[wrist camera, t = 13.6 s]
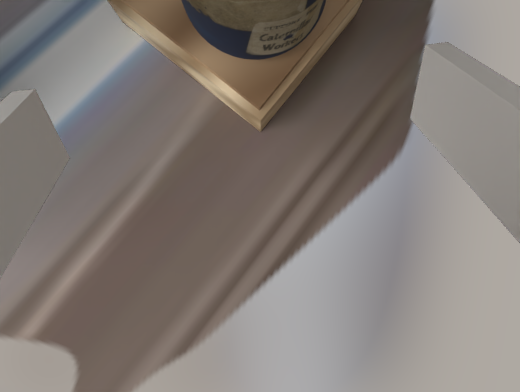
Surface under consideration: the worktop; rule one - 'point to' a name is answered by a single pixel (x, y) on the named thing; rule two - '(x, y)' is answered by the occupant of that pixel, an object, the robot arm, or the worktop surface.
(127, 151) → the worktop surface
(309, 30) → the canister
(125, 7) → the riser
